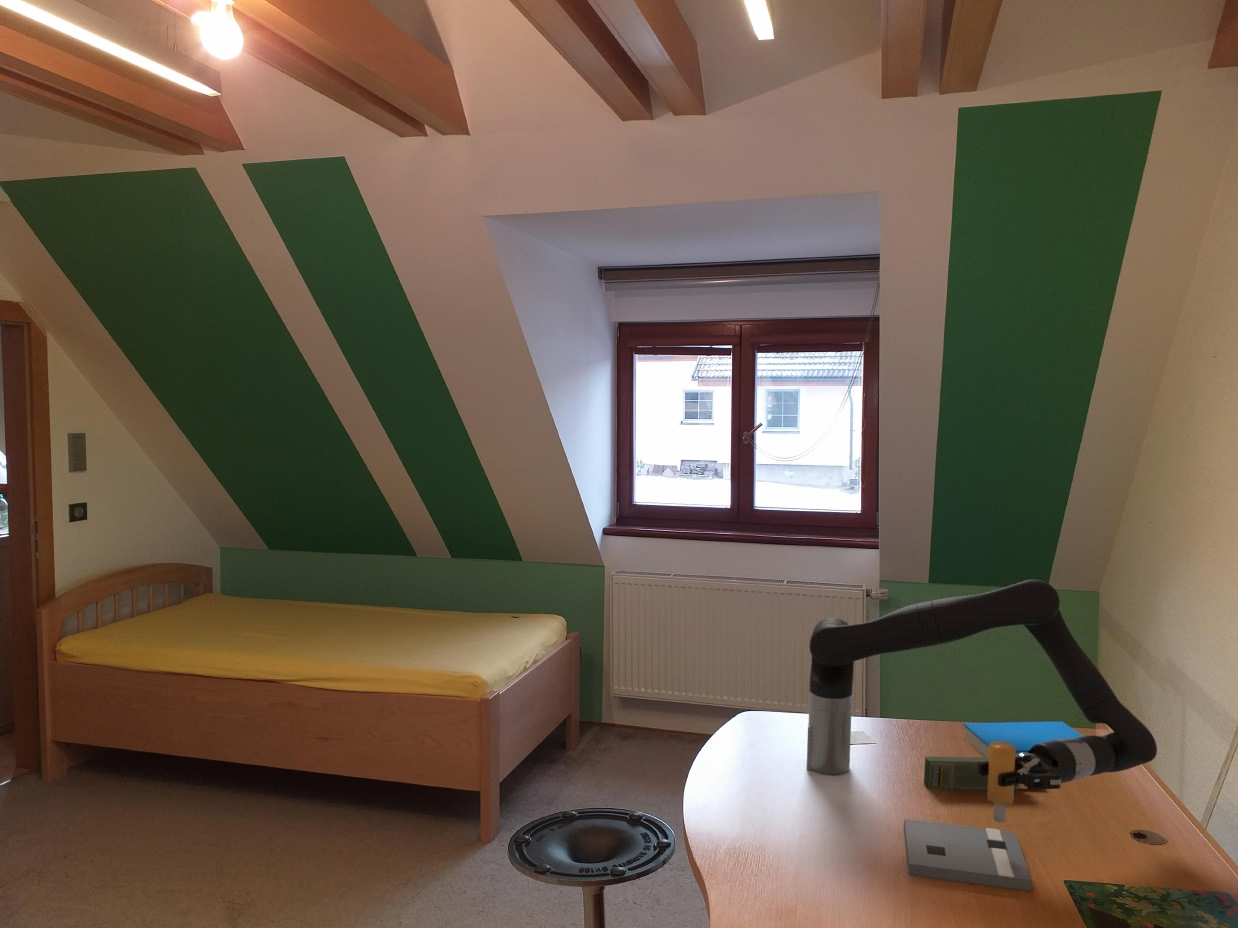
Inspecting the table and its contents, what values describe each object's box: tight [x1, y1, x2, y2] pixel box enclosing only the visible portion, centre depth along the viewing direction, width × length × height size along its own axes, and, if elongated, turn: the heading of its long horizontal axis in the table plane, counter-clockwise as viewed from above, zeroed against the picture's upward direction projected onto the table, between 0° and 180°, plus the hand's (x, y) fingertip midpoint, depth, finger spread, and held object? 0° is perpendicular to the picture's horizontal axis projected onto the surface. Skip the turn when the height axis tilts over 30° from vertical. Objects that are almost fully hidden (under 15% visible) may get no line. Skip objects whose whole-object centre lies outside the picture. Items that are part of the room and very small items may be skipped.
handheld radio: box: [923, 756, 1040, 791], centre depth 198 cm, size 7×3×25 cm
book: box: [963, 720, 1084, 757], centre depth 218 cm, size 17×4×25 cm
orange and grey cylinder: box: [986, 741, 1016, 824], centre depth 169 cm, size 4×4×14 cm
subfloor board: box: [903, 818, 1032, 892], centre depth 169 cm, size 20×17×2 cm
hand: (989, 774), depth 168 cm, fingers closed on orange and grey cylinder, 4 cm apart
